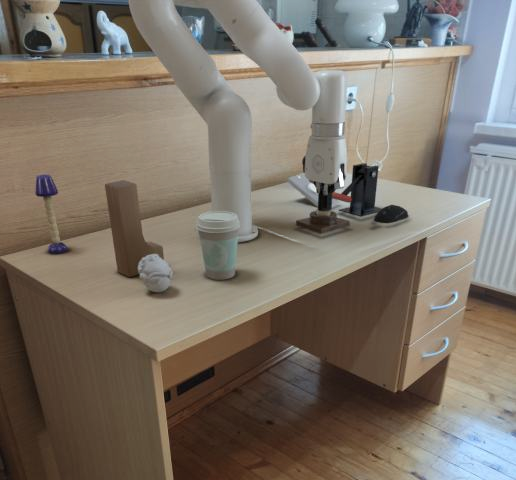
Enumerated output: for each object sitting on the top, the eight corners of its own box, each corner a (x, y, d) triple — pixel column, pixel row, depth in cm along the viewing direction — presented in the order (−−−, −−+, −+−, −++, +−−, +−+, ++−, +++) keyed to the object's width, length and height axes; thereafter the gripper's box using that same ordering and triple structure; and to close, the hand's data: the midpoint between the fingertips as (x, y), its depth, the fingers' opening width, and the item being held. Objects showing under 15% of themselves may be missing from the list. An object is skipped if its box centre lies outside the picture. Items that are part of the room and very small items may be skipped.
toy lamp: (44, 249, 122) (28, 175, 114) (64, 245, 125) (49, 172, 117) (52, 255, 119) (36, 179, 111) (72, 250, 122) (58, 175, 113)
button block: (320, 237, 128) (321, 221, 126) (295, 229, 134) (296, 213, 132) (349, 229, 133) (350, 213, 131) (323, 221, 139) (324, 206, 138)
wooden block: (152, 261, 115) (143, 175, 106) (165, 266, 113) (156, 179, 104) (117, 272, 110) (103, 183, 101) (129, 278, 107) (116, 187, 98)
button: (323, 221, 130) (323, 212, 129) (312, 217, 133) (313, 209, 132) (333, 218, 132) (333, 210, 131) (323, 215, 134) (323, 207, 133)
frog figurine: (158, 281, 105) (154, 247, 102) (181, 290, 101) (178, 255, 98) (133, 291, 101) (128, 256, 98) (156, 301, 97) (152, 265, 94)
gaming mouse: (361, 226, 136) (362, 210, 134) (391, 214, 145) (393, 199, 143) (383, 231, 132) (384, 215, 130) (412, 218, 141) (414, 203, 139)
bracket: (360, 220, 140) (364, 170, 134) (338, 214, 146) (341, 165, 139) (384, 213, 146) (390, 165, 139) (362, 207, 151) (366, 160, 145)
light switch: (326, 206, 146) (288, 174, 149) (317, 223, 150) (280, 192, 153) (342, 200, 152) (305, 169, 155) (332, 216, 156) (296, 186, 159)
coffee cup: (191, 274, 108) (186, 216, 102) (222, 263, 113) (220, 207, 108) (218, 286, 103) (215, 225, 97) (250, 274, 108) (249, 216, 102)
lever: (349, 204, 137) (347, 197, 135) (332, 200, 141) (330, 193, 139) (378, 174, 139) (376, 167, 138) (361, 171, 143) (358, 163, 142)
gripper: (294, 129, 125) (293, 206, 134) (340, 135, 115) (336, 219, 124) (316, 125, 129) (314, 201, 138) (363, 132, 119) (357, 213, 128)
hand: (324, 209), depth 131 cm, fingers closed
